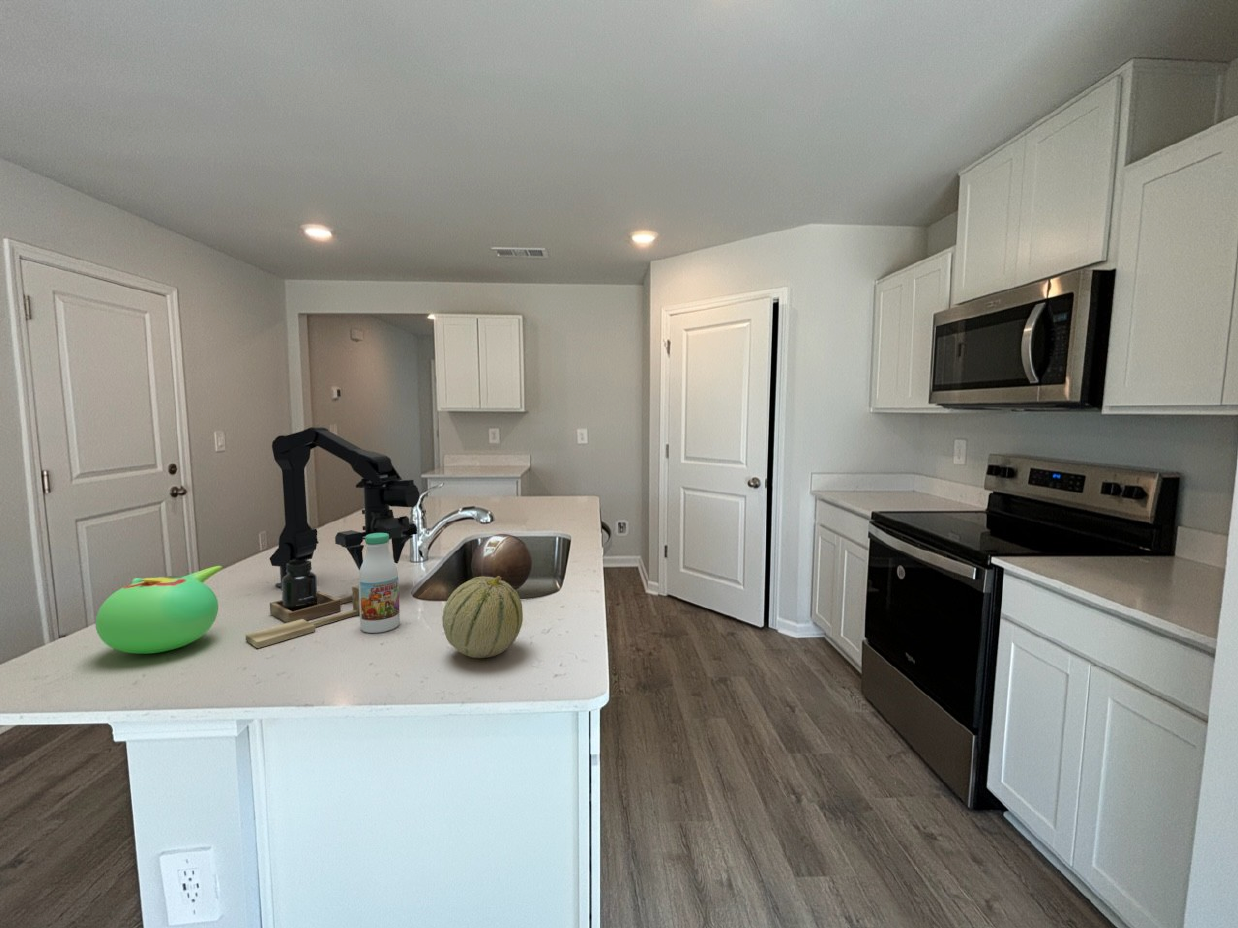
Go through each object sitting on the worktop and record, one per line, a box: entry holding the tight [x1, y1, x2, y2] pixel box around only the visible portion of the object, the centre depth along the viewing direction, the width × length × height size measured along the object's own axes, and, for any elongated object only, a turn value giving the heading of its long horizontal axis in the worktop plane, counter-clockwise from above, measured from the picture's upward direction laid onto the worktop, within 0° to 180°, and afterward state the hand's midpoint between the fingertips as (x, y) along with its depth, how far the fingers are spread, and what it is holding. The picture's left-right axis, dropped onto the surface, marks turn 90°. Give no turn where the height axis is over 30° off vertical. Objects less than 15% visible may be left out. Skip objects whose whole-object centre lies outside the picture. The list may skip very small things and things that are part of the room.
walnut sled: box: [269, 590, 353, 623], centre depth 128 cm, size 11×24×6 cm, turn 143°
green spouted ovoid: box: [95, 565, 223, 655], centre depth 104 cm, size 18×17×15 cm
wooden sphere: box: [470, 533, 533, 591], centre depth 138 cm, size 15×15×15 cm
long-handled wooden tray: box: [244, 584, 360, 649], centre depth 115 cm, size 6×24×6 cm, turn 143°
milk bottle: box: [358, 533, 401, 634], centre depth 115 cm, size 8×8×20 cm
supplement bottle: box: [281, 559, 319, 612], centre depth 122 cm, size 7×7×12 cm
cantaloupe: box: [441, 576, 524, 659], centre depth 102 cm, size 15×15×15 cm
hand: (379, 567), depth 137 cm, fingers open, 9 cm apart
